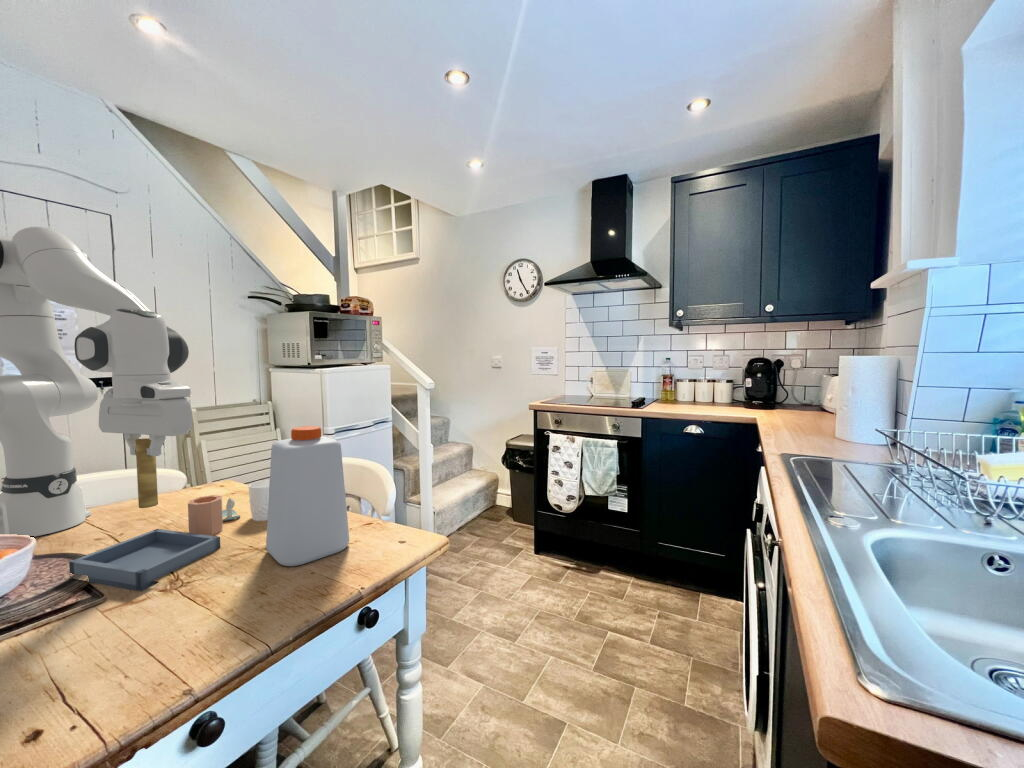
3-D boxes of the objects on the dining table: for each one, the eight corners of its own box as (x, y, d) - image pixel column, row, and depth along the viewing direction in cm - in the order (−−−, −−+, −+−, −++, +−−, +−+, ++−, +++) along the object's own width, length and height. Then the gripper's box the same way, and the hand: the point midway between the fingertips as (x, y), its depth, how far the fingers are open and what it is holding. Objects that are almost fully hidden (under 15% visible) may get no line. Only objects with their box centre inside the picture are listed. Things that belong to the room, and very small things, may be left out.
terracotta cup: (182, 539, 97) (181, 503, 96) (208, 529, 103) (207, 494, 102) (204, 542, 95) (203, 505, 95) (229, 531, 101) (228, 496, 101)
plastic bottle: (261, 549, 92) (257, 427, 91) (328, 529, 103) (326, 420, 102) (284, 573, 82) (281, 436, 80) (356, 548, 93) (354, 428, 91)
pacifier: (215, 530, 103) (242, 522, 107) (213, 506, 102) (241, 499, 107) (208, 522, 108) (234, 515, 112) (206, 499, 107) (233, 493, 112)
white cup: (267, 526, 105) (266, 488, 104) (242, 524, 106) (241, 486, 106) (290, 515, 112) (289, 480, 112) (266, 513, 114) (265, 478, 113)
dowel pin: (134, 507, 83) (131, 440, 82) (150, 502, 86) (147, 437, 85) (146, 508, 82) (142, 440, 82) (161, 503, 85) (158, 438, 84)
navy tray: (70, 579, 79) (69, 561, 79) (157, 543, 95) (157, 528, 94) (141, 591, 75) (140, 573, 75) (220, 552, 91) (220, 536, 90)
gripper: (86, 388, 82) (89, 456, 83) (165, 390, 77) (168, 461, 78) (122, 386, 88) (125, 449, 89) (197, 388, 84) (199, 454, 84)
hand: (145, 455), depth 84 cm, fingers closed on dowel pin, 3 cm apart
